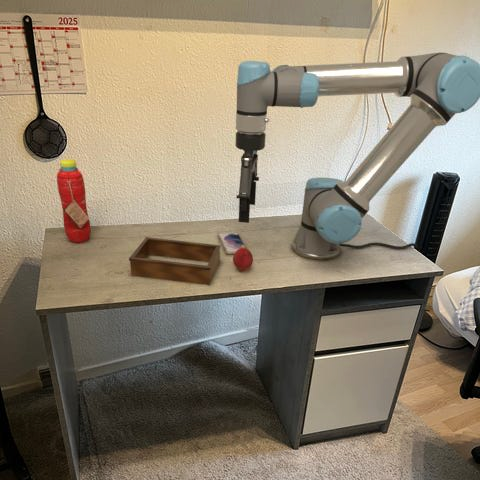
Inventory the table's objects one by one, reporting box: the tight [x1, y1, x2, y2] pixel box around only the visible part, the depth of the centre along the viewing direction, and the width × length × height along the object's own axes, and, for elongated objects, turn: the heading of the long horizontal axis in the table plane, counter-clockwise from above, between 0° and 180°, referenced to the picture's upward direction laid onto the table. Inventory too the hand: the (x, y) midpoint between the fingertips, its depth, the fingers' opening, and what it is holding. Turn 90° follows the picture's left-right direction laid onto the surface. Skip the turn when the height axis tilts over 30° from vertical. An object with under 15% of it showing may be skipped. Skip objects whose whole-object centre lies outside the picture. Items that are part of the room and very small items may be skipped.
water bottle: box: [56, 158, 92, 244], centre depth 143 cm, size 12×8×25 cm, turn 14°
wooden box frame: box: [128, 236, 222, 286], centre depth 136 cm, size 23×15×6 cm, turn 81°
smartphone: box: [217, 232, 248, 255], centre depth 153 cm, size 7×1×15 cm
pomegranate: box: [232, 244, 254, 272], centre depth 137 cm, size 6×6×8 cm
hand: (247, 212), depth 130 cm, fingers open, 13 cm apart
